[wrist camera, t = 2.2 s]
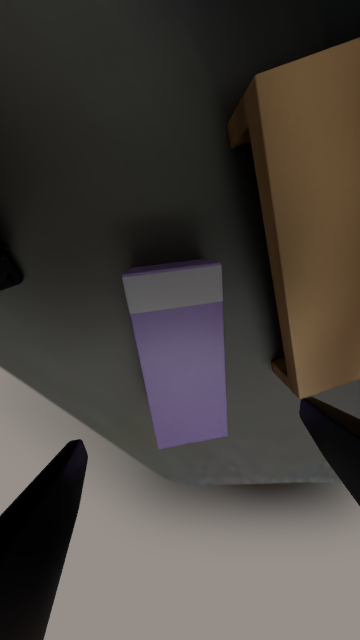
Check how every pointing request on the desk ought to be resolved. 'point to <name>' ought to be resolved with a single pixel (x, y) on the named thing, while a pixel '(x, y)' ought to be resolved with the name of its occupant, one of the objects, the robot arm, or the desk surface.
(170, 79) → the desk surface
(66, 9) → the desk surface
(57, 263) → the desk surface
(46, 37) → the desk surface
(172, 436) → the purple box
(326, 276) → the step shelf
